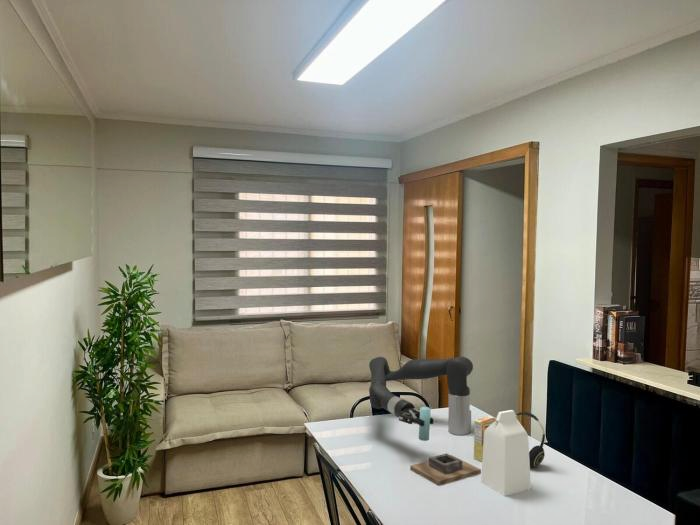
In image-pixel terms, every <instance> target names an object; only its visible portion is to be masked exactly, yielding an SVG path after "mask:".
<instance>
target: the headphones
mask: <svg viewBox="0 0 700 525" xmlns="http://www.w3.org/2000/svg"><path fill="white" fill-rule="evenodd" d="M515 415H516V417H518V416H521V415H525V416H527V417H528V416H529V417H531V418H532V419H534V420H535V421H536V422H537V423H538V424H539V425H540V428H541V430H542V438H541V442H540V444H539V445H535V446H533V447H532V448H531V449H529V461H530V468H536V467H538V466H540V465H541V464H542V462H544V461H543V460H544V458H545V455H546V453H545V450H544V448H543V447H544V444H545V441H546V439H545V437H546V434H545V429H544V426H543V424H542V423H541V422H540V419H539V418H538V417H537V416H536V415H535V414H533V413H531V412H528V411H527V412H526V411H521V412H518V413H517V414H515Z"/></svg>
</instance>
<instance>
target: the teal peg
mask: <svg viewBox="0 0 700 525" xmlns="http://www.w3.org/2000/svg"><path fill="white" fill-rule="evenodd" d="M431 409H432V408H430V406H429V407H428V406H421V407H420V408H419V410H420V419H421V420H423V421H424V426H423V427H422V426H420V425H418V426H419V427H418V439H419V440H420V441H424V442H425V441H427V442H428V441H429V440H430V428H431V427H430V426H431V424H430V417H431Z"/></svg>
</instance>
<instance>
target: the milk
mask: <svg viewBox="0 0 700 525" xmlns="http://www.w3.org/2000/svg"><path fill="white" fill-rule="evenodd" d="M516 415H517V414H516V411H515V410H513V409H509V410H502V411H498V413H497V415H496V418H495V419H496V421H494V422H493V423H492V424H491V425H490V426H489V427H487V428H486V430H485V432H484V443H483V460H482V462H481V463H482V464H481V475H480V476H481V479H480V484H482V483H483V485H484V486H486V487H488V488H490V489H491V490H493V491H495V492H496V493H499V495H502V496H504V497H505V496H509V495H513V494H517V493H521V492H524V491H528V490H530V489H532V486H531V485H532V483H531V467H530V461H529V452H530V448H529V445H530V444H529V434H528V433H527V431H526V430H525V428H524V426H523V425H522V424H521V423H520V421H519V420H518V418H517V416H516Z"/></svg>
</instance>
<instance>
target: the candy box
mask: <svg viewBox="0 0 700 525" xmlns="http://www.w3.org/2000/svg"><path fill="white" fill-rule="evenodd" d="M494 421H496V418H495V417H493V416H485V417H482V418H478V419H476V420H474V423H473V424H474V425H473V426H474V427H473V428H474V429H473V430H474V431H473V436H474V437H473V459H474V460H476V461H478V462H481V463H482V460H483V443H484V432H485V430H486V428H487V427H489V426H490V425H491V424H492V423H493V422H494Z"/></svg>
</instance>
